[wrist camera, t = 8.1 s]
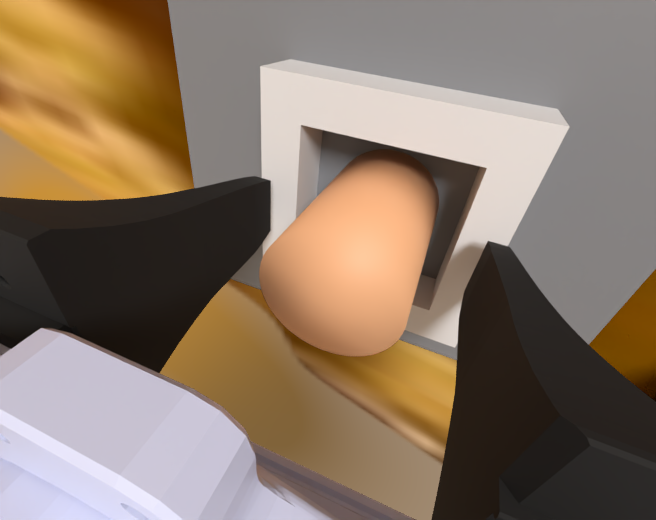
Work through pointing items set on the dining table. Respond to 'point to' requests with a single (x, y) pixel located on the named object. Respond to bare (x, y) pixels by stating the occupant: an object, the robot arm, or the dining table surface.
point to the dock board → (444, 130)
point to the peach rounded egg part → (354, 256)
